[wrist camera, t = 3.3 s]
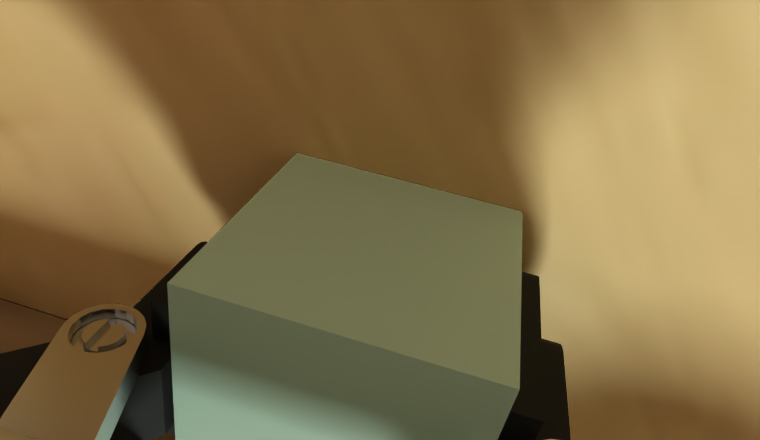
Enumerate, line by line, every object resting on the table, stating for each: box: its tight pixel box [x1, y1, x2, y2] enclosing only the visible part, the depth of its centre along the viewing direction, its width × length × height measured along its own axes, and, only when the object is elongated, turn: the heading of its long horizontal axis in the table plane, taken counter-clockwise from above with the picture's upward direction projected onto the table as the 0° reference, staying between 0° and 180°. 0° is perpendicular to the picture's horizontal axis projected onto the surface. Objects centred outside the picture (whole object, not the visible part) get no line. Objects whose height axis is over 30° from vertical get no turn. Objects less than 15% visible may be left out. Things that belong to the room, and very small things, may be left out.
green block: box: [167, 153, 523, 440], centre depth 11 cm, size 5×5×5 cm
